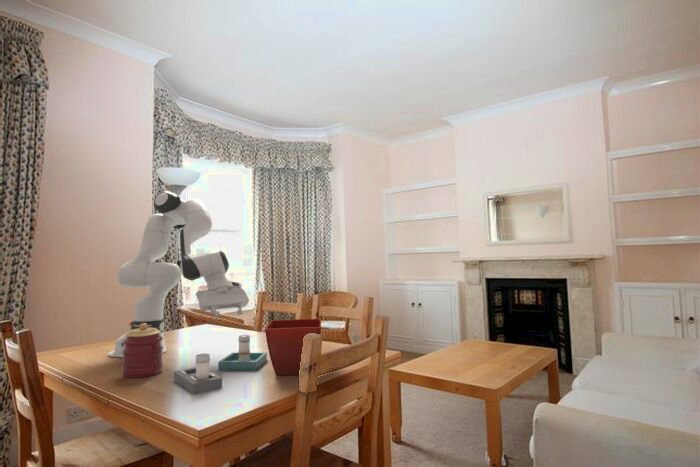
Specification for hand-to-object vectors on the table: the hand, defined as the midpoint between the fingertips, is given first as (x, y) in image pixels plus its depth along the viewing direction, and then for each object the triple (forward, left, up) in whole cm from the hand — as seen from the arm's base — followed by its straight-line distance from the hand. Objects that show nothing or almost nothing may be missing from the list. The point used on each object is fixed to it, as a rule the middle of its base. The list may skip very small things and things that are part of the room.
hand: (229, 315), depth 161 cm
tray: (+9, -9, -17) cm, 21 cm away
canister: (-24, -20, -18) cm, 36 cm away
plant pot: (+30, -15, -18) cm, 38 cm away
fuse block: (+1, -31, -17) cm, 35 cm away
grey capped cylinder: (+9, -8, -17) cm, 21 cm away
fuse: (+4, -34, -17) cm, 38 cm away
